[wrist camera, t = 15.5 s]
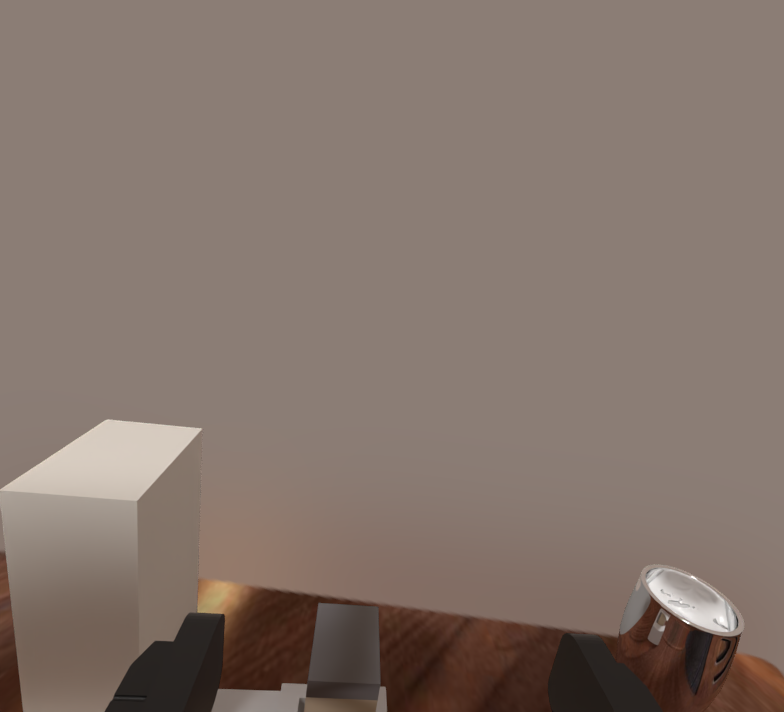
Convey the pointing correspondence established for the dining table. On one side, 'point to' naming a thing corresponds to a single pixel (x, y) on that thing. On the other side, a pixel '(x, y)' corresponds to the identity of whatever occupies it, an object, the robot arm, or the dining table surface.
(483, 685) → the dining table surface
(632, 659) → the beer glass
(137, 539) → the white socket stand
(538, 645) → the dining table surface
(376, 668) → the rail end
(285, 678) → the dining table surface
